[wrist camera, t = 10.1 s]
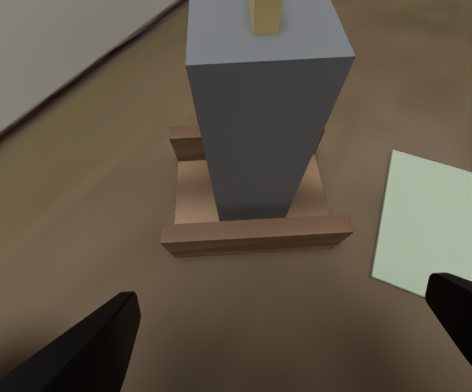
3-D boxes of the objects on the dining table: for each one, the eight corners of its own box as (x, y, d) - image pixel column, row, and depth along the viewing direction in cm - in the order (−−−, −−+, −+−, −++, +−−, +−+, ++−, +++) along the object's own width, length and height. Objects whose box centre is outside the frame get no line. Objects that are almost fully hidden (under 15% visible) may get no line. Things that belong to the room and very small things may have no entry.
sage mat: (512, 332, 16) (517, 332, 15) (370, 276, 17) (372, 276, 17) (501, 183, 21) (504, 182, 20) (391, 151, 22) (392, 149, 22)
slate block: (284, 219, 19) (393, -32, 5) (219, 223, 19) (167, -21, 5) (276, 165, 21) (337, -106, 8) (218, 168, 21) (178, -98, 8)
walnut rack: (333, 248, 18) (353, 231, 15) (175, 257, 18) (160, 243, 15) (309, 148, 23) (321, 118, 19) (181, 155, 23) (170, 127, 19)
